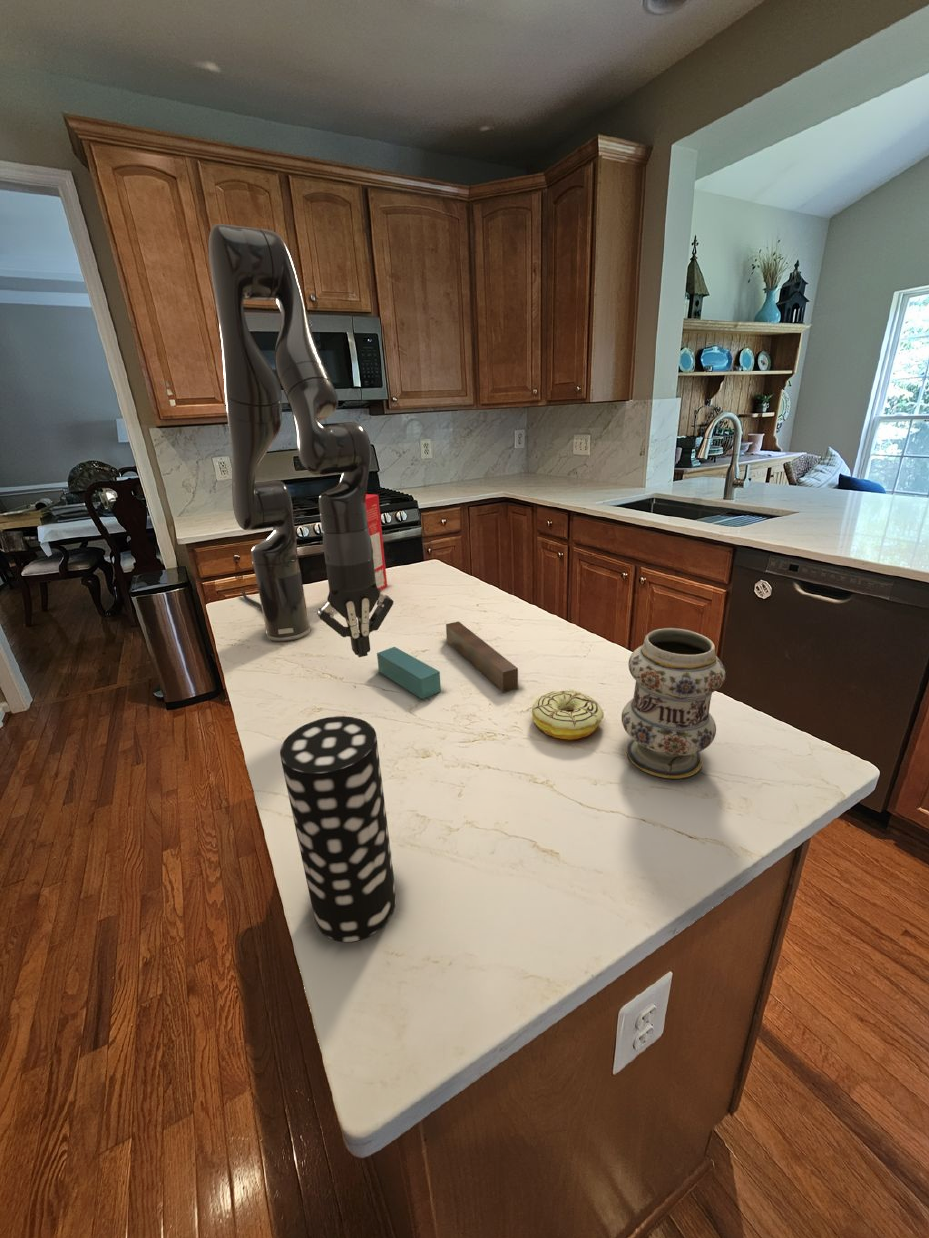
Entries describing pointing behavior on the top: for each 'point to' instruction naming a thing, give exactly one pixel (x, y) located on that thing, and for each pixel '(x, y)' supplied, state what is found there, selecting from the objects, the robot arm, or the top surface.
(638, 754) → the apothecary jar
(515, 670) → the walnut rail
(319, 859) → the spotted tube
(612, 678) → the top surface
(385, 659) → the teal bar
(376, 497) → the food packaging
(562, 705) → the decorated donut
